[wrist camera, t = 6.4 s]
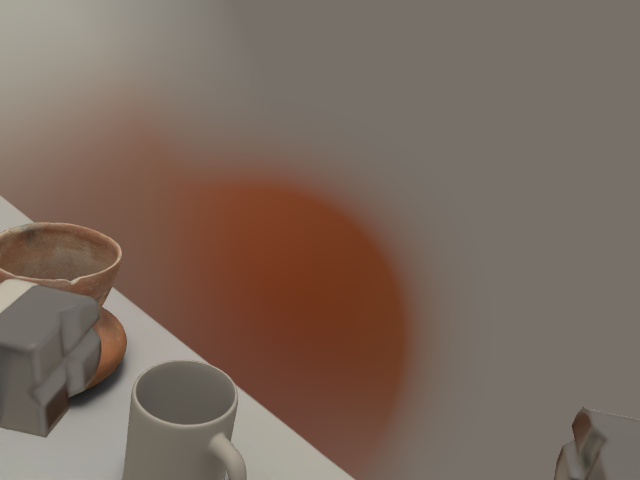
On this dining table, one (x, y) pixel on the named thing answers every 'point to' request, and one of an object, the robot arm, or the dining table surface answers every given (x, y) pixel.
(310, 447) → the dining table surface
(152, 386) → the mug
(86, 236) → the ceramic jug
